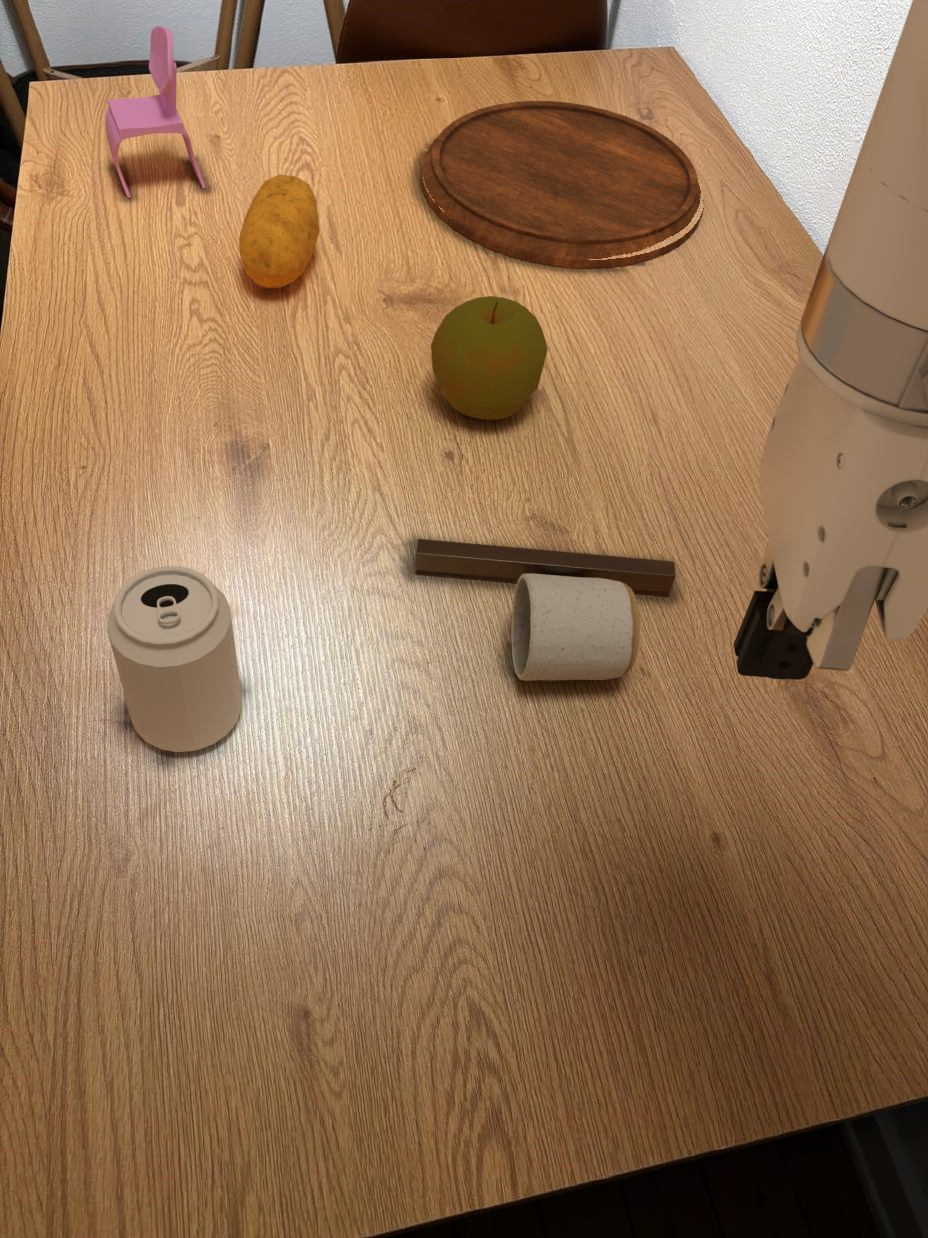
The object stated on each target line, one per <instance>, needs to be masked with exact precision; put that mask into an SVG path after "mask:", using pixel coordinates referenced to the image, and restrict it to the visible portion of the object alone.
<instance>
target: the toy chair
mask: <svg viewBox="0 0 928 1238" xmlns="http://www.w3.org/2000/svg"><path fill="white" fill-rule="evenodd" d="M149 48H150V49H149V60H148V61H149V62H148V70H149V72H150V75H151V77H152V80H153V82H154V84H155V86H156V88H157V90H158V92H159V94H155V95H150V96H142V97H131V98H130V97H129V98H128V97H127V98H126V97H125V98H124V97H123V98H122V97H121V98H112V99H107V104H108V108H107V110H106V112H105V133H106V138H107V145H108V148H109V152H110V155H111V157H112V161H113V163H114V166H115V169H116V171H117V174H118V176H119V179H120V182H121V185H122V188H123V190H124V192H125V195H126V197H127V199H129V198H130V199H131V198H132V196H131V194H130V190H129V188H128V185H127V183H126V180H125V177H124V175H123V171H122V169H121V167H120V163H119V151H120V145H121V144H122V142H124V141H125V140H127V139H131V138H137V137H142V136H146V135H153V134H180V135H181V136H182V139H183V142H184V145H185V148H186V152H187V155H188V158H189V161H190V165H192V167H193V170H194V173H195V175H196V177H197V180H198V181H199V184H200V186H201V188H202V189H207V188H206V184H205V182H204V178H203V176H202V174H201V171H200V169H199V165H198V163H197V159H196V157H195V153H194V149H193V146H192V142H191V138H190V136H189V134H188V131H187V129H186V127H185V124H184V123H183V121H182V118H181V116H180V113H179V111H178V110H177V71H178V70H177V67H178V66H177V63H176V61H175V59H174V35H173V32H172V31H171V30H170V29H169V28H167V27H164V26H155V27H153V28H152V30H151V32H150V47H149Z"/></svg>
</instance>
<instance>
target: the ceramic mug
mask: <svg viewBox="0 0 928 1238" xmlns="http://www.w3.org/2000/svg"><path fill="white" fill-rule="evenodd" d="M638 604H639V603H638V600H637V597H636V595H635V593H634V592H633V591H632V589H631V588H630V587H629V586H628V585H627V584H625V583H622V582H619V581H614V580H609V579H603V578H581V577H569V576H556V575H544V574H522V575H521V576H520V578H519V580H518V581H517V583H516V585H515V588H514V594H513V601H512V609H511V621H510V622H511V626H510V627H511V629H510V641H511V657H512V663H513V669H514V673H515V675H516V677H517V679H518V680H521V681H525V682H526V681H527V682H529V681H577V680H578V681H579V680H585V681H587V680H588V681H597V680H598V681H605V680H611V679H617V678H620V677H624V676H626V675H627V674H628V673H629V671H630V670H631V669H632V668H633V666H634V664H635V662H636V660H637V657H638V651H639V645H640V637H641V636H640V635H641V617H640V609H639V605H638Z"/></svg>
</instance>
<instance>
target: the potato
mask: <svg viewBox="0 0 928 1238" xmlns="http://www.w3.org/2000/svg"><path fill="white" fill-rule="evenodd" d="M317 203H318V202H317V198H316V196H315V193H314V191H313V189H312V188H311V185H310V184H309V183H308V182H307V181H305V180H303V179H301V178H300V177H298V176H294V175H285V174H277V175H275V176H273V177H270V178H269V179H266V180H264V181H263V183H262V184H261V185H260V188H259V189H258V190H257V192H256V193H255V195H254V196H253V198H252V200H251V203H250V205H249V207H248V209H247V212H246V214H245V217H244V220H243V223H242V225H241V226H242V227H241V229H240V234H239V236H238V237H239V238H238V241H239V243H238V247H239V255H240V259H241V263H242V266H243V270H244V272H245V273H246V274H247V275H248V276H249V277H250V279H252V280H253V282H254V283H255V284H256V285H257V286H259V287H262V288H265V289H280V288H282V287H285V286H286V285H289V284H291V283H293V282H295V281H296V280H297V279H298V278H299V277H300V276H301V275H303V273H304V271H305V269H306V267H307V265H308V263H309V262H310V261H311V258H313V257H312V256H313V253H314V251H315V248H316V244H317V242H318V238H319V234H320V221H319V212H318V205H317Z"/></svg>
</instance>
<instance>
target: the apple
mask: <svg viewBox="0 0 928 1238" xmlns="http://www.w3.org/2000/svg"><path fill="white" fill-rule="evenodd" d="M546 342H547V341H546V338H545V334H544V330H543V328H542V326H541V324H540V322H539V320H538V318H537V317H536V316H535V314H533V313H532V312H531V311H530V310H529V309H528V308H527V307H525V305H523V304H521V303H520V302H518V301H516V300H513V299H509V298H506V297H503V296H494V295H493V296H492V295H487V296H481V297H476V298H475V297H474V298H471V299H469V300H466V301H465V302H462V303H461V304H459V305H458V306H456V307H454V308H453V309H452V310H450V311H449V313H447V314H446V315H445V316H443V319H442V320H441V322H440V324H439V326H438V327H437V329H436V331H435V332H434V336H433V338H432V340H431V344H430V353H431V366H432V372H433V375H434V377H435V380H436V382H437V385H438V387H439V388H440V390H441V392H442V395H443V396H444V398H445V400H446V402H447V403H448V404H449V405H450V406H451V407H452V408H453V409H454V410H455V411H456V412H457V413H460V414H462V415H465V416H468V417H470V418H475V419H480V420H487V421H490V420H503V419H506V418H508V417H511V416H513V415H516V414H517V413H519V411H520V410H521V409H522V407H523V406H524V405H525V403H527V402H528V400H529V399H530V398H531V396H532V395H534V393H535V392H536V391H537V389H539V386H540V381H541V378H542V374H543V369H544V366H545V361H546V357H547V354H548V345H547V343H546Z"/></svg>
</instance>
